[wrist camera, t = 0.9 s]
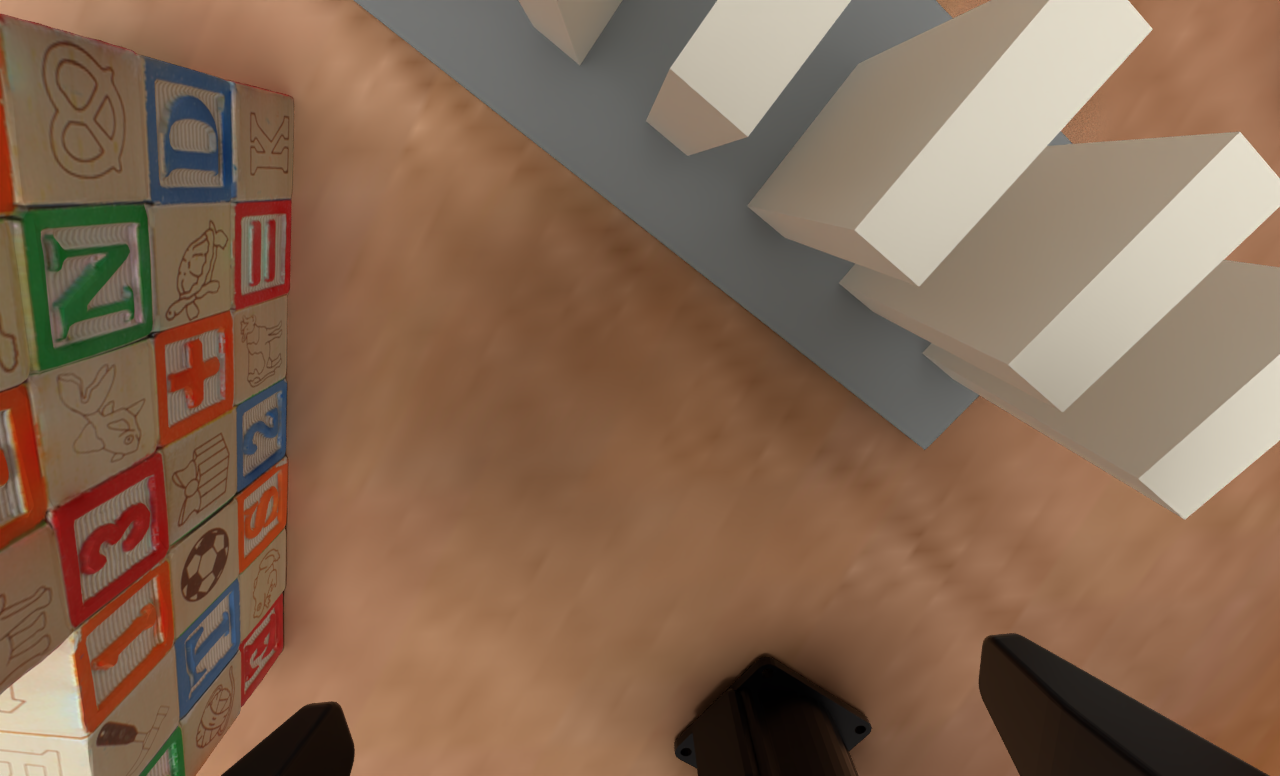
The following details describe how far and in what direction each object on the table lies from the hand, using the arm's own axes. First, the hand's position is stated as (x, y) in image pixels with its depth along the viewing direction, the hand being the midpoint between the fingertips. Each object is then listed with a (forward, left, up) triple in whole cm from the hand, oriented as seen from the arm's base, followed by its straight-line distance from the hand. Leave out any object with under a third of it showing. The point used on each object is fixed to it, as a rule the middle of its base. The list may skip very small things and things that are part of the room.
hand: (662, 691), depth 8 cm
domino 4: (+4, -9, -13) cm, 16 cm away
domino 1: (-8, -9, -13) cm, 18 cm away
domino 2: (-4, -9, -13) cm, 16 cm away
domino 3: (0, -9, -13) cm, 16 cm away
